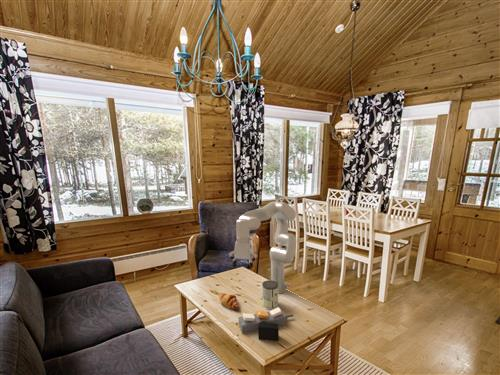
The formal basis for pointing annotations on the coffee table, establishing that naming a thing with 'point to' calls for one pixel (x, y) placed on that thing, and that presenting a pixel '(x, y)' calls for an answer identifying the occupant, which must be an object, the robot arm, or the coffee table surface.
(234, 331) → the coffee table surface
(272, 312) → the white rocker
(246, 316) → the block
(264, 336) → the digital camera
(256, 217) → the robot arm
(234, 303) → the croissant
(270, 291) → the coffee can
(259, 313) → the amber rocker
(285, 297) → the coffee table surface
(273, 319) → the power strip
